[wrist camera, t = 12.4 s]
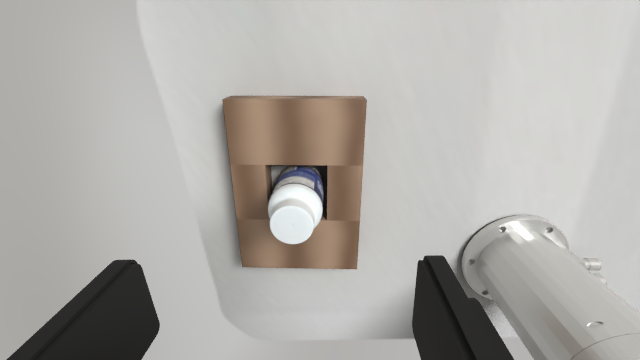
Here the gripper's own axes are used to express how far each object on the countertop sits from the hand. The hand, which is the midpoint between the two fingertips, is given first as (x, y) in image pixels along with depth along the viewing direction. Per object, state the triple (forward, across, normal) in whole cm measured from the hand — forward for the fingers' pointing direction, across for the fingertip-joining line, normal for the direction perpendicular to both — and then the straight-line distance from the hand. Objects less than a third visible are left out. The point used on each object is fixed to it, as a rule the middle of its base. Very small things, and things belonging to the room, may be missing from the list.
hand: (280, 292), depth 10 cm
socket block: (+25, +2, +6) cm, 26 cm away
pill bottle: (+25, +2, +6) cm, 26 cm away
